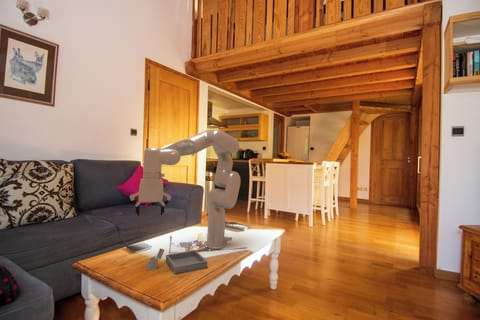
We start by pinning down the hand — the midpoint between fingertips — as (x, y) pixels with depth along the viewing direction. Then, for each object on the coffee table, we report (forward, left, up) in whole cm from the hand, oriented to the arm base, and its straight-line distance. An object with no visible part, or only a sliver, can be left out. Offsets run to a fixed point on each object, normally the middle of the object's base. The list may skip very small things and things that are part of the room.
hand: (150, 214), depth 110 cm
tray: (-16, +5, -23) cm, 28 cm away
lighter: (-3, +3, -23) cm, 23 cm away
